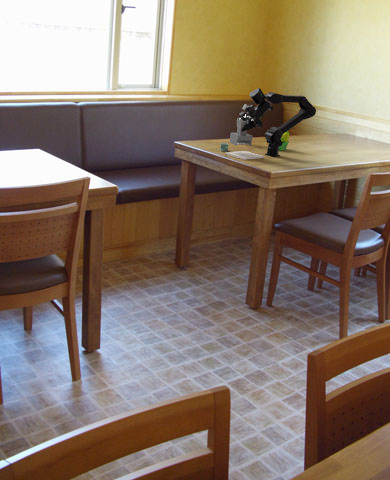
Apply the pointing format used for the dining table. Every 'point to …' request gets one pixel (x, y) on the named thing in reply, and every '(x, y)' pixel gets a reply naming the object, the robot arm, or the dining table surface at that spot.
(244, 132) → the cover
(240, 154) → the board
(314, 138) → the dining table surface
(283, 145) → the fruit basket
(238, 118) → the wine glass
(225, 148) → the block
